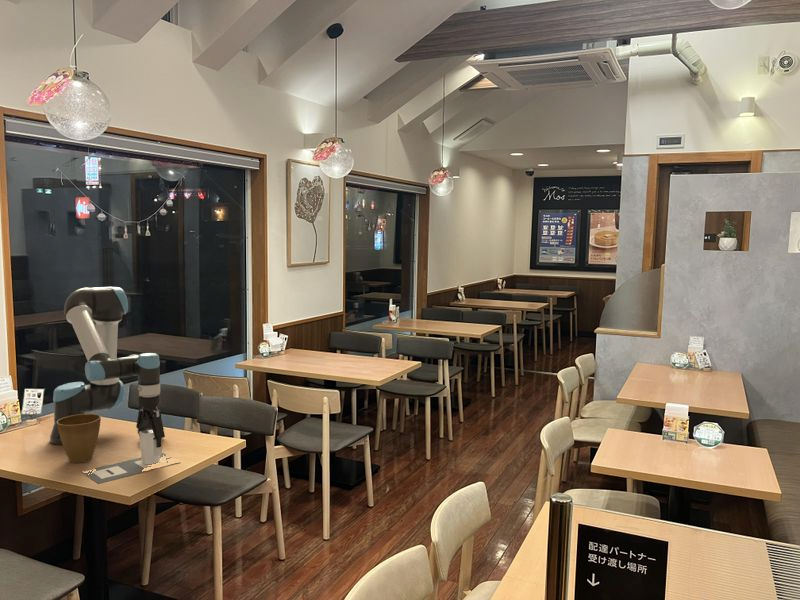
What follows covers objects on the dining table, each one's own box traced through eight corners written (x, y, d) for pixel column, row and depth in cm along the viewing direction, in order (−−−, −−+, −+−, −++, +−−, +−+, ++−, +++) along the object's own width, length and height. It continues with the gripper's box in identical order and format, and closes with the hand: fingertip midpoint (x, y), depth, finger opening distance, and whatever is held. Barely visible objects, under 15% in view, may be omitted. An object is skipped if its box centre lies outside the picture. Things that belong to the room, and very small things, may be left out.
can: (153, 465, 231) (152, 434, 230) (137, 464, 232) (137, 432, 231) (163, 459, 237) (162, 429, 236) (148, 458, 238) (147, 427, 237)
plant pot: (85, 451, 246) (84, 411, 245) (110, 457, 240) (109, 417, 238) (49, 462, 233) (47, 420, 232) (74, 469, 226) (73, 426, 225)
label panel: (81, 471, 225) (81, 471, 224) (161, 452, 246) (161, 452, 246) (98, 483, 213) (98, 483, 213) (180, 462, 235) (180, 462, 235)
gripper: (126, 391, 238) (127, 446, 240) (153, 402, 221) (154, 461, 223) (145, 388, 243) (146, 442, 245) (173, 398, 227) (174, 456, 229)
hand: (150, 451), depth 234 cm, fingers open, 12 cm apart
